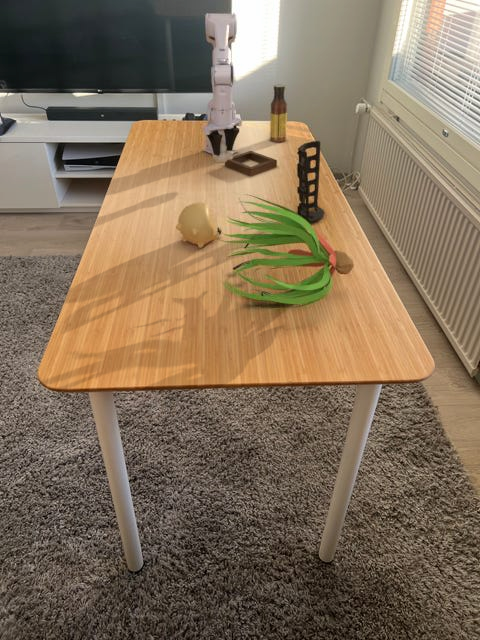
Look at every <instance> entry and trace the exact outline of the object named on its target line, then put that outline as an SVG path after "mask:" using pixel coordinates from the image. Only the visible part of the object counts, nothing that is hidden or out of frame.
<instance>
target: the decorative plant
mask: <svg viewBox="0 0 480 640" xmlns="http://www.w3.org/2000/svg"><path fill="white" fill-rule="evenodd" d="M244 196H248V197H253V198H254V199H255V198H256V199H258V200H260V201H262V202H265V203H267V204H270V205H267V204H263V203H260V202H259V203H258V202H253V201H243V200H241V199H240V196H239V197H238V199H239V202H238V201H237V204H238V203H239V204H240V203H241V206H242V208H243V209H244V211H242V212H241V214H247V215H249V216H250V217H252V218H253V219H255V220H257V221H260V222H252V223H251V222H246V221H241V220H238V219H233V218H231V217H229V216H228V215H226V216H227V218H228V219H229V220H228V219H227V218H224V220H226V222H228V223H230V224H232V225H236V226H238V227H244V228H246V229H244V230H243V232H245V231H251V230H255V231H259V232H260V233H235V234H227V233H224V232H223V231H222V230H221V233H222V234H223V235H224V236H226V237H229V238H235V239H239V240H223V239H220V241H221V242H222V243H229V244H245V246H240V247H239V246H238V247H235V248H228V249H225V248H224V249H223V248H222V249H221V250H223V251H229V250H230V251H231V250H238V249H244V250H238V251H235V252H231V253H227V254H225V256H226V258H232V257H237V256H245V255H250V254H254V253H255V254H256V253H259V254H261V255H264V256H269V257H280V258H252V259H251V260H247V261H244V262H241V263H239V264H237V265H235V266H233V267H232V270H233V272H232V273H231V276H232V275H236V274H238V275H239V277H240V278H242V281H246V282H248V283H250V284H251V285H254V286H258V287H260V288H264V289H269V290H270V289H271V290H278V291H284V292H277V293H271V292H267V291H265V290H260V289H253V288H252V289H251V290H252V291H251V290H250V291H251V292H252V293H251V292H247V291H248V289H247V290H245V291H242V290H240V289H238V288H237V287H235V286H234V285H233V284H232V283H230V282H229V281H227V283H228V284H229V285H230V286H231V287H230V286H228V285H227V284H226V283H223V282H222V281H221V280H222V279H220V283H221V284H222V285H223V286H224V287H226V289H228V290H229V291H231V292H233V293H235V294H237V295H239V296H243V297H245V298H249V299H253V300H259V301H269V302H270V301H271V302H275V303H274V305H275V304H276V305H277V304H278V303H279V304H288V305H296V306H291V307H289V306H288V307H270V308H269V307H267V309H270V310H287V309H288V310H289V309H296V308H301V307H306V306H309V305H312V304H314V303H317V302H318V301H321V300H322V299H324V297H326V296H327V295H328V294H329V293H330V291H331V289H332V286H333V280H332V277H333V276H334V273H335V271H336V272H337V274H339V275H348V274H350V273H351V271H352V270H353V268H354V267H355V264H354V260H353V259H352V257H350V255H348V254H347V253H346V252H344V251H342V250H337V249H335V250H334V249H333V247H331V245H330V243H328V241H326V239H325V238H324V237H323V236H322V235H321V234H320V233H319V232H318V230H317V229H315V228H314V227H313V226H312V224H310V223H309V222H308V221H307V220H306V219H304V218H303V217H302V216H300V215H299V214H298V212H296V211H293V210H291V209H290V208H288V207H285V206H283V205H280V204H278V203H274V202H272V201H269V200H266V199H263V198H260V197H258V196H255V195H251V194H247V193H244ZM243 203H244V204H250V205H253V206H256V207H259V208H262V209H265V210H268V211H269V212H265V211H254V210H251V211H250V210H247V209H246V208H245V206H244V205H243ZM270 211H271V212H270ZM258 216H259V217H262V218H259V217H258ZM263 218H266V219H269V220H266V219H263ZM230 220H231V221H230ZM271 220H272V221H271ZM217 237H218V236H217ZM218 238H219V237H218ZM240 239H241V240H240ZM290 244H305V245H306V246H307V247H308V249H309V251H308V250H303V249H298V248H297V249H296V248H295V249H290V250H288V251H287V252H283V251H281V252H280V251H272V250H270V249H267V248H265V247H275V246H281V245H290ZM249 245H250V246H249ZM216 246H217V248H219V247H218V245H216ZM246 249H247V250H246ZM257 266H262V267H263V266H264V267H266V268H262V267H261V268H260V267H259V268H256V269H254V273H255V272H257V271H258V270H262V269H265V270H266V269H267V267H271V268H270V270H275V269H281V268H282V269H283V267H290V268H293V267H294V268H295V267H304V268H320V267H322V268H320V269H319V270H318V271H316V273H315V274H312V275H311V276H309V277H307V278H305V279H303V280H302V281H299V282H296V283H286V282H283V281H280V280H278V279H275V278H273V277H271V276H270V275H268V274H267V273H266V274H265V273H263V277H266V278H268V279H270V280H271V281H273V282H275V283H276V284H270V283H263V282H260V281H256V280H253V279H251V278H249V276H248V275H246V274H245V270H248V269H251V268H254V267H257ZM272 267H273V268H272ZM240 272H243V274H244V275H243V274H241V273H240ZM285 290H286V291H285ZM253 291H257V292H259V293H253ZM216 293H218V291H216ZM298 304H299V305H298ZM255 305H256V304H254V303H252V306H253V307H254V308H255ZM263 305H267V303H264V304H263ZM256 308H259V309H260V307H258V306H257V307H256Z"/></svg>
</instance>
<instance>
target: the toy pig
mask: <svg viewBox="0 0 480 640" xmlns="http://www.w3.org/2000/svg"><path fill="white" fill-rule="evenodd" d="M177 222H178V223H177V224H176V225H175V228H176V230H177V231H179V232H180V234H181V236H182V238H181V239H182V241H183V242H185V243H186V242H189V243H190V244H193V245H197V248H199V249H202V248H203V247H204V246H205V245H206V244H208V243H210V242H213V241H216V240H217V239H219V238H220V236H221V234H222V232H221V231H222V229H221V228H220V227H219V226H218V225H219V224H218V223H217V221H216V218H215V216H214V213H213V211H212V209H211V207H210V206H209V205H208V204H207V203H205V202H194V203H190V204H188V205H187V206H185V207H184V208H183V209H182V210H181V212H180V213H179V217H178V221H177ZM217 236H218V237H217Z"/></svg>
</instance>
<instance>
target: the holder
mask: <svg viewBox="0 0 480 640" xmlns="http://www.w3.org/2000/svg"><path fill="white" fill-rule="evenodd" d="M312 148H314V149H315V154H313V155H308V152H307V151H306V150H308V149H312ZM296 154H297V155H298V162H297V163H296V173H297V175H296V176H297V178H298V186H297V187H296V188H297V189H296V191H297V193H298V201H299V202H298V205H297V206H296V207H297V214H299V215H300V216H302V217H303V218H304V219H306V220H307V221H308V222H309V223H310V225H312V224H315V223H317V222H318V221H321V220H322V219H323V218H324V216H325V211H324V209H323V208H321V207H320V206H319V205H318V203H319V201H318V199H319V187H320V165H321V140H314V141H309V142H305V143H302V144H301V145H300V146H299V147H298V148H297V153H296ZM313 161H315V165H314V167H312V166H311V163H312V162H313ZM313 173H314V178H313V179H310V180H309V174H313ZM312 185H314V190H312V191H311V186H312ZM310 197H313V201H312V202H310V200H309V198H310ZM310 209H314V210H310Z"/></svg>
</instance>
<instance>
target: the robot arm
mask: <svg viewBox="0 0 480 640" xmlns="http://www.w3.org/2000/svg"><path fill="white" fill-rule="evenodd" d="M237 18H238V17H237V14H236V13H235V12H234V13H209V12H207V13H206V14H205V17H204V19H205V20H204V21H205V24H204V25H205V38H206V42H208V43H209V44H212V47H213V49H212V53H211V55H212V67H211V68H210V70H211V71H210V75H211V76H210V77H211V86H212V88H211V89H212V99H211V100H210V101H208V103H207V109H206V112H207V113H206V115H207V125H205V126H203V127H202V134H203V135H204V136H205V137H204V139H205V142H204V143H205V144H204V145H205V148H204V149H203V151H204V152H206V153H207V154H210V155H213V153H214V155H217V156H219V155H220V144H221V140H222V141H223V142H224V143H225V144H226V147H227V149H226V150H225V151H232V152H233V154H236V153H237V150H234V149H233V148H234V144H235V141H236V139H237V136H238V135H239V133H240V128H239V127H242V125H243V123H242V121H243V119H242V118H239V117H236V104H235V102H234V101H233V87H234V84H235V67H234V63H233V57H232V55H233V54H232V50H231V48H230V44H233V43H235V41H236V38H237V37H236V36H237V28H238V27H237V26H238V25H237Z"/></svg>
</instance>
